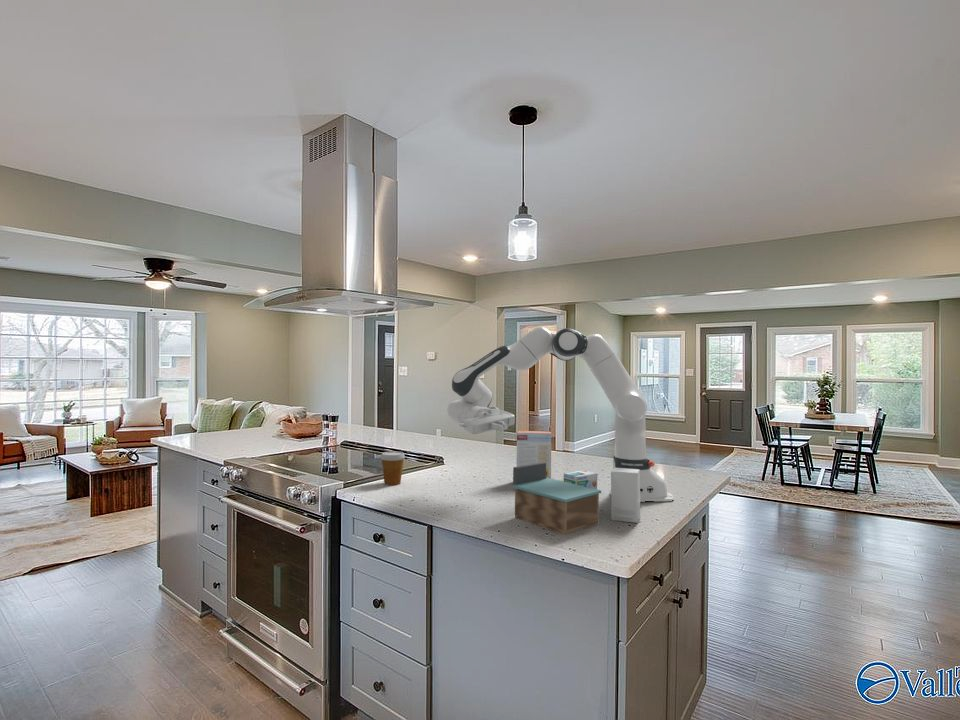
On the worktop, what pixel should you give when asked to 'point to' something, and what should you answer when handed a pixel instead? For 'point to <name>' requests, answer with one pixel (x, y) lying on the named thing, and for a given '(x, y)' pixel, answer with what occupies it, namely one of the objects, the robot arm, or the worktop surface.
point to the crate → (557, 511)
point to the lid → (548, 484)
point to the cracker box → (534, 449)
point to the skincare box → (625, 494)
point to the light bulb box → (582, 478)
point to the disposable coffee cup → (392, 467)
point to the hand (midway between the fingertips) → (504, 428)
